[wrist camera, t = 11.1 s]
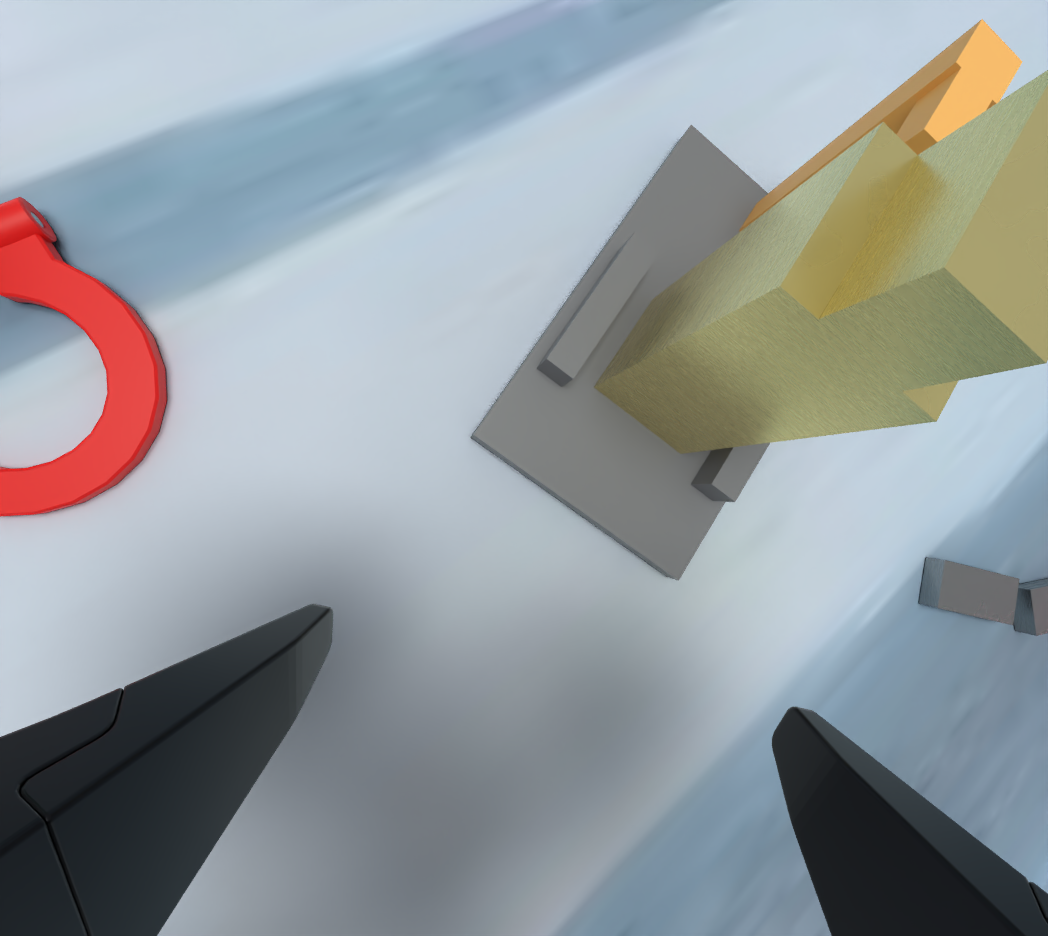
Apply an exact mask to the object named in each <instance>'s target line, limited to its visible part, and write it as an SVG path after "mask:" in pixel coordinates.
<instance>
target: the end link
mask: <svg viewBox="0 0 1048 936" xmlns="http://www.w3.org/2000/svg"><path fill="white" fill-rule="evenodd" d="M1047 360H1048V70H1047V71H1046V72H1044V73H1043V74H1041V75H1040V76H1038V77H1037V78H1035V79H1033V80H1032V81H1030V82H1029V83H1027V84H1026V85H1024V86H1023V87H1021V88H1020V89H1018V90H1017V91H1015V92H1014V93H1012V94H1011V95H1009V96H1007V97H1006V98H1004V99H1003V100H1001V101H1000V102H998V103H997V104H995V105H994V106H992V107H991V108H989V109H988V110H986V111H984V112H983V113H981V114H980V115H978V116H977V117H975V118H974V119H972V120H971V121H969V122H968V123H966V124H965V125H963V126H961V127H960V128H958V129H957V130H955V131H954V132H952V133H951V134H949V135H948V136H946V137H945V138H943V139H942V140H940V141H939V142H937V143H935V144H934V145H932V146H931V147H929V148H928V149H926V150H925V151H923V152H922V153H920V154H919V155H917V154H916V153H915V152H914V151H913V150H912V149H911V148H910V147H909V146H908V145H907V144H905V143H904V142H903V141H902V140H901V139H900V138H899V137H898V136H897V135H896V134H895V133H894V132H893V131H892V130H891V129H890V128H889V127H888V126H887V125H886V124H885V123H884V122H882V123H881V124H879V125H878V126H877V127H875V128H874V129H873V130H872V131H870V132H869V133H868V134H866V135H865V136H864V137H862V138H861V139H860V140H859V141H857V142H856V143H855V144H853V145H852V146H851V147H849V148H848V149H847V150H846V151H844V152H843V153H842V154H840V155H839V156H838V157H837V158H835V159H834V160H833V161H831V162H830V163H829V164H827V165H826V166H825V167H824V168H822V169H821V170H820V171H818V172H817V173H816V174H814V175H813V176H812V177H811V178H809V179H808V180H807V181H805V182H804V183H803V184H801V185H800V186H799V187H798V188H796V189H795V190H794V191H792V192H791V193H790V194H788V195H787V196H786V197H785V198H783V199H782V200H781V201H779V202H778V203H777V204H776V205H774V206H773V207H772V208H770V209H769V210H768V211H766V212H765V213H764V214H763V215H761V216H760V217H759V218H757V219H756V220H755V221H753V222H752V223H751V224H750V225H748V226H747V227H746V228H744V229H743V230H742V231H740V232H739V233H738V234H737V235H735V236H734V237H733V238H731V239H730V240H729V241H728V242H726V243H725V244H724V245H722V246H721V247H720V248H718V249H717V250H716V251H715V252H713V253H712V254H711V255H709V256H708V257H707V258H705V259H704V260H703V261H702V262H700V263H699V264H698V265H696V266H695V267H694V268H692V269H691V270H690V271H689V272H687V273H686V274H685V275H683V276H682V277H681V278H679V279H678V280H677V281H676V282H674V283H673V284H672V285H670V286H669V287H668V288H667V289H665V290H664V291H663V292H661V293H660V294H659V295H657V296H656V297H655V298H654V299H653V300H652V301H651V303H650V304H649V306H648V307H647V309H646V310H645V312H644V313H643V315H642V316H641V317H640V319H639V320H638V322H637V323H636V325H635V326H634V328H633V329H632V331H631V332H630V334H629V335H628V337H627V338H626V340H625V341H624V343H623V344H622V346H621V347H620V349H619V350H618V352H617V353H616V355H615V356H614V358H613V359H612V361H611V362H610V364H609V365H608V367H607V368H606V369H605V371H604V372H603V374H602V375H601V377H600V378H599V380H598V381H597V383H596V384H595V386H594V388H595V389H597V390H598V391H599V392H600V393H602V394H603V395H604V396H606V397H607V398H608V399H610V400H611V401H612V402H613V403H615V404H616V405H617V406H619V407H620V408H621V409H623V410H624V411H625V412H627V413H628V414H629V415H630V416H632V417H633V418H634V419H636V420H637V421H638V422H640V423H641V424H642V425H644V426H645V427H646V428H647V429H649V430H650V431H651V432H653V433H654V434H655V435H657V436H658V437H659V438H660V439H662V440H663V441H664V442H666V443H667V444H668V445H670V446H671V447H672V448H674V449H675V450H676V451H677V452H679V453H680V454H684V453H692V452H700V451H708V450H715V449H723V448H731V447H739V446H747V445H755V444H763V443H771V442H778V441H786V440H794V439H802V438H810V437H818V436H826V435H834V434H842V433H849V432H857V431H865V430H873V429H881V428H889V427H897V426H905V425H913V424H920V423H928V422H936V421H937V419H938V418H939V416H940V414H941V412H942V410H943V408H944V406H945V405H946V403H947V401H948V399H949V397H950V395H951V393H952V392H953V390H954V388H955V386H956V384H957V382H958V380H963V379H968V378H973V377H978V376H983V375H988V374H993V373H998V372H1003V371H1008V370H1013V369H1019V368H1024V367H1029V366H1034V365H1039V364H1044V363H1046V362H1047Z"/></svg>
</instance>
